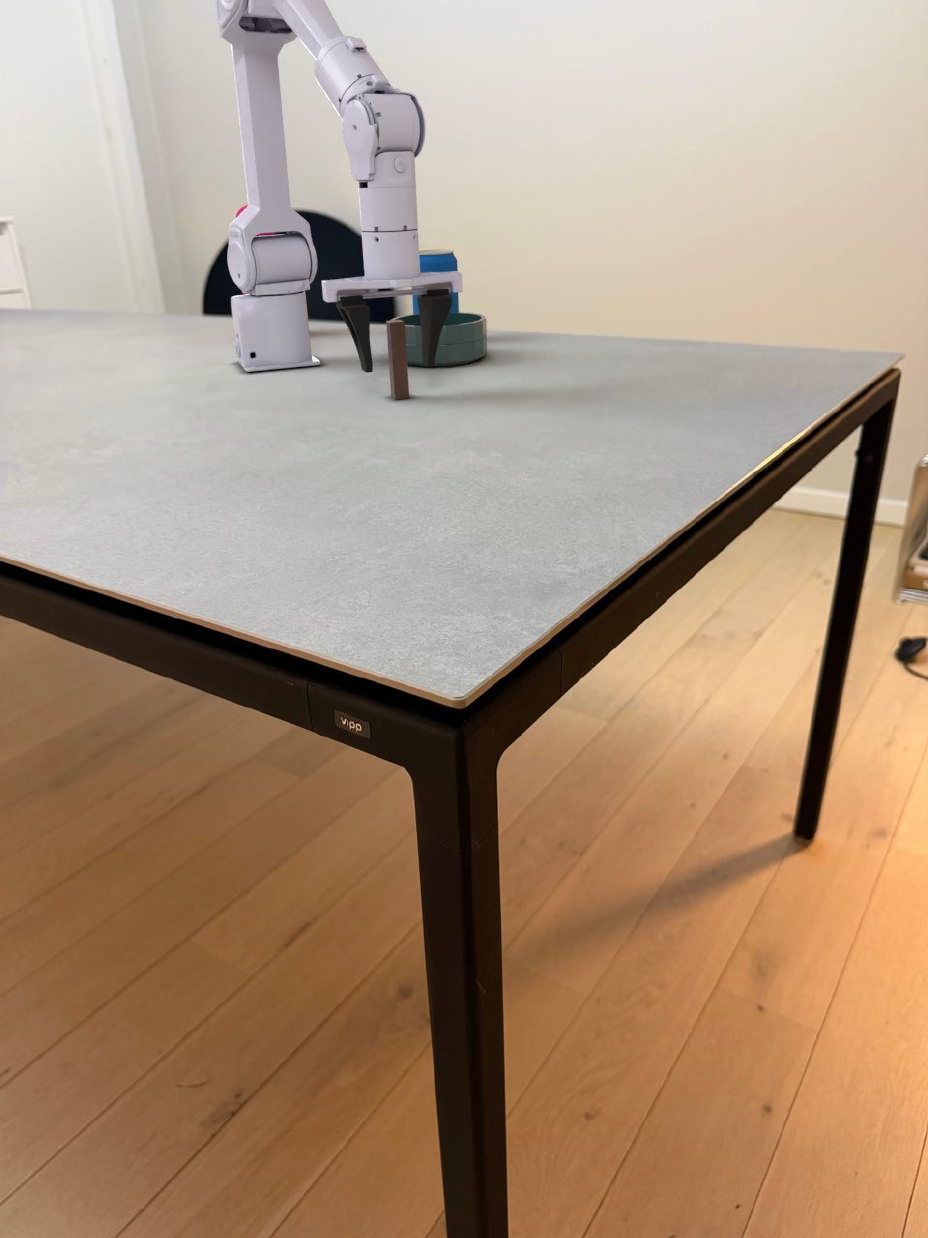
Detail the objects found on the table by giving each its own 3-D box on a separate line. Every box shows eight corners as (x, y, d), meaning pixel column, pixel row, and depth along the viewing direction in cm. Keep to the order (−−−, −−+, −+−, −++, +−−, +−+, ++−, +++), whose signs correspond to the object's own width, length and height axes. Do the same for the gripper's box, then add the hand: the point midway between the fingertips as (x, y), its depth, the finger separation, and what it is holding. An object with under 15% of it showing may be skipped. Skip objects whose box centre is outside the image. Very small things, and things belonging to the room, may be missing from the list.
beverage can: (409, 344, 129) (403, 253, 124) (421, 337, 135) (417, 249, 130) (453, 345, 128) (450, 252, 123) (464, 337, 134) (461, 248, 128)
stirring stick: (395, 399, 99) (390, 322, 95) (391, 396, 100) (386, 320, 97) (409, 398, 99) (404, 321, 96) (405, 395, 101) (400, 319, 97)
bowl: (408, 371, 112) (406, 329, 110) (382, 355, 123) (379, 316, 120) (501, 362, 116) (500, 321, 114) (467, 347, 126) (466, 309, 124)
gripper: (327, 236, 87) (340, 381, 93) (471, 228, 91) (474, 367, 97) (312, 232, 93) (325, 369, 99) (447, 225, 97) (452, 356, 103)
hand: (398, 367), depth 98 cm, fingers open, 6 cm apart
